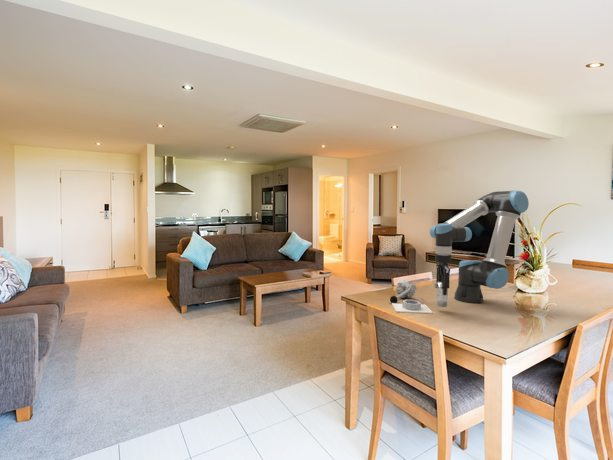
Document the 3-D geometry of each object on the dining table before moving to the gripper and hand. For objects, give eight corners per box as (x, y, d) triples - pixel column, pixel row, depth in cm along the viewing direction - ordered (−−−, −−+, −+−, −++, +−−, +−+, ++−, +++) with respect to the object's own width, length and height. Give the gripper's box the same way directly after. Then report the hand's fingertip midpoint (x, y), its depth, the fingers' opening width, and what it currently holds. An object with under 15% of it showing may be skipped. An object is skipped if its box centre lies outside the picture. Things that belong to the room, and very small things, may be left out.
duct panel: (425, 305, 177) (425, 298, 177) (432, 313, 163) (433, 306, 163) (391, 304, 178) (391, 297, 178) (396, 312, 164) (396, 305, 164)
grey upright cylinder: (445, 304, 169) (446, 281, 168) (448, 307, 164) (449, 283, 163) (433, 303, 169) (433, 281, 168) (436, 306, 164) (436, 283, 163)
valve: (409, 295, 196) (422, 293, 182) (386, 310, 191) (397, 309, 177) (400, 280, 197) (412, 277, 183) (377, 295, 192) (387, 293, 178)
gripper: (430, 251, 174) (429, 294, 175) (441, 256, 156) (440, 304, 158) (444, 251, 173) (443, 294, 175) (457, 257, 155) (456, 304, 157)
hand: (442, 299), depth 166 cm, fingers closed on grey upright cylinder, 5 cm apart
